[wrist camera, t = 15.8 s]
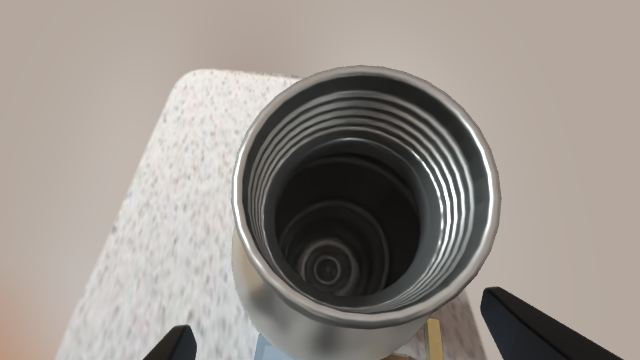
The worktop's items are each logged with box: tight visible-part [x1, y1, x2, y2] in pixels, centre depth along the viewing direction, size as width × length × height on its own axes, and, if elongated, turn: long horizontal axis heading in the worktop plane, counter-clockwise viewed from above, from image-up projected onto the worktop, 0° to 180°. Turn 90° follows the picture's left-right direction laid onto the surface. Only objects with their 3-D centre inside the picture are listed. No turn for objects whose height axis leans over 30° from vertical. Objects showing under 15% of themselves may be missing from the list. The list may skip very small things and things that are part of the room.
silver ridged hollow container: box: [231, 65, 501, 360], centre depth 13 cm, size 6×7×20 cm
